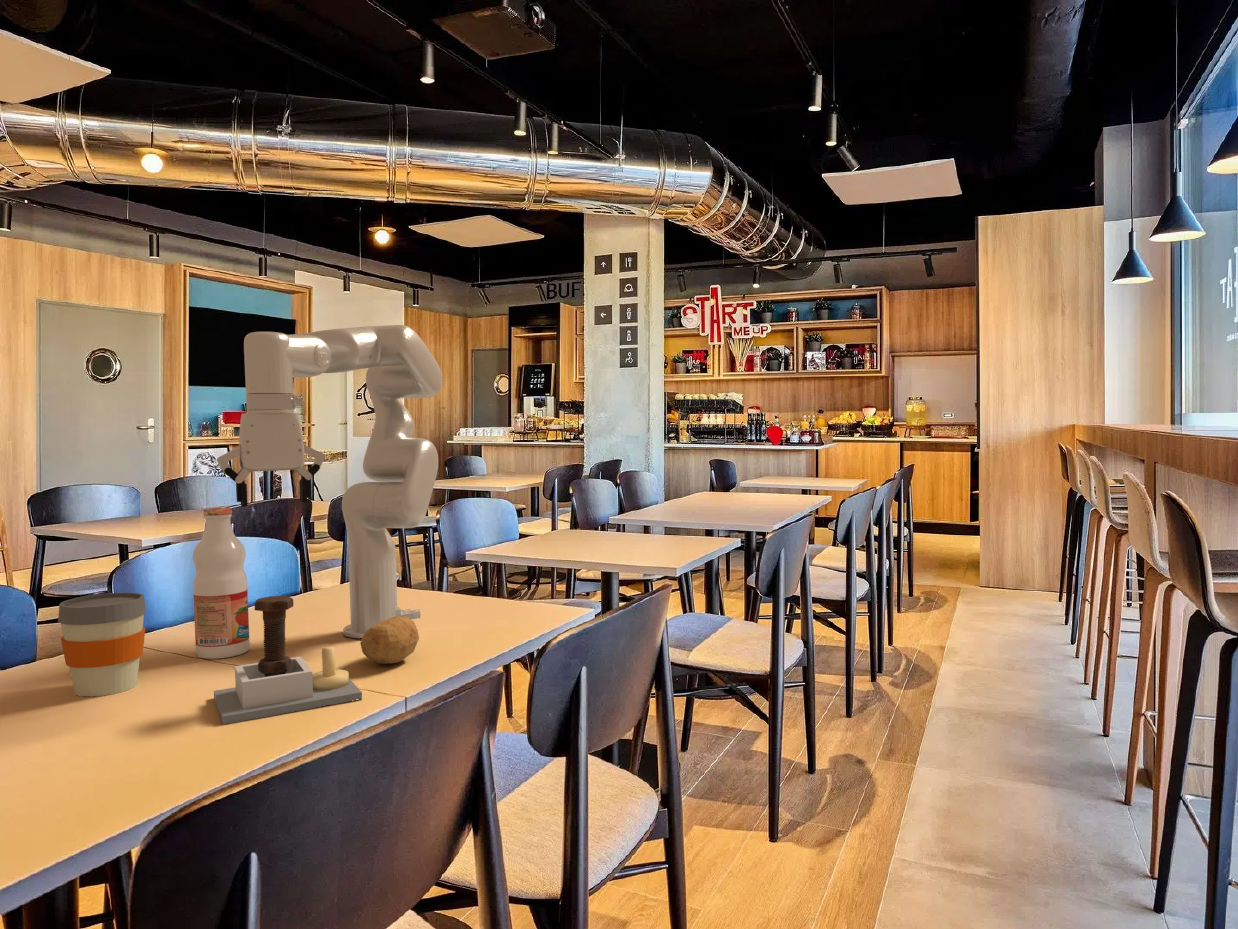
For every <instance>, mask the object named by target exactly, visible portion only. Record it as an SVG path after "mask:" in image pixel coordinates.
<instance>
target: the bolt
mask: <svg viewBox="0 0 1238 929" xmlns="http://www.w3.org/2000/svg"><path fill="white" fill-rule="evenodd" d="M293 607H294V598H293V597H291V596H287V595H277V596H276V595H274V596H273V595H272V596H266V597H261V598H258V599H256V600H255V601H254V611H256V612H257V611H258V612H262V621H263V652H264V653H263V657H262V658H261V659H260V660H259V661H258V662H257V663H258V671H259V672H261V673H263V674H264V675H265V676H264V677H269V676H275V675H282V674H286V671H288V670H289V669H290V668H291V658H292V657H290V656H288V655H287V654H286V618H287V611H288V610H290V609H291V608H293Z"/></svg>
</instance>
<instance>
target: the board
mask: <svg viewBox="0 0 1238 929" xmlns="http://www.w3.org/2000/svg"><path fill="white" fill-rule="evenodd" d="M290 658H291V668H290V669H289V670H288V671H286V674H282V675H275V676H269V677H264V676H265V675H264V674H263V673H261V672H259V671H258V663H259V662H255V663H254V662H253V663H247V664H242V665H235V666H234V678H235V679H234V680H235V682H234V683H235V686H234V687H230V688H224V689H223V688H222V689H216V690H213V698H214V702H215V705H216V708H217V710H218V711H217V712H218V713H219V717H220V720H221V723H222V725H228V724H232V723H233V724H234V723H239V722H246V721H250V720H255V719H256V720H257V719H262V718H267V717H273V716H279V715H285V714H289V713H290V714H291V713H296V712H301V711H306V710H307V711H308V710H311V709H312V708H313V709H317V708H316V707H319V708H322V707H321V706H324V707H326V706H325V705H330V706H334V704H335V705H339V704H338V703H341V704H344V703H343V702H347V701H352V700H356V699H362V700H363V692H362V691H361V690H360V688H358V686H357V685H356V684H355V683H354V682H353V681H352V680H351V678H350V677H349V676H350V675H349V674H350V673H349V671H348V670H344V669H338V668H337V669H336V647H335V646H324V647H323V648H321V660H322V661H321V662H322V664H321V665H322V666H321V667H322V670H320V671H316V672H313V671H312V669H311V668H310V667H309V665H308V663H306V661H305V660H304V659H303V658H302V656H296V657H290ZM352 702H353V701H352ZM347 703H348V702H347ZM295 711H296V712H295Z"/></svg>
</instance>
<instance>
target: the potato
mask: <svg viewBox="0 0 1238 929" xmlns="http://www.w3.org/2000/svg"><path fill="white" fill-rule="evenodd" d="M419 639H420V637H419V631H418V628H417V625H416V623H415V622H414V620H413V619H410V618H409V617H405V616H395V617H391V618H389V619H386V620H383V621H381V622H378V623H377V624H375V625H374V626H372V627H371V628H369V629H368V630H367V631H366V632H365V633H364V635H363V637H362V639H361V640H360V643H359V644H360V648H361V652H362V654H363V655H364V656H365V658H367V659H368V660H369V661H372V662H375V663H377V664H379V665H380V664H381V665H384V664H385V665H386V664H387V665H388V664H398V663H400V662H402V661H403V660H406V658H407V657H409V656H410V655H411V654H413V653H414V652H415V650H416V647H417V644H418V642H419V641H420V640H419Z"/></svg>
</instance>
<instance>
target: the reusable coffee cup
mask: <svg viewBox="0 0 1238 929" xmlns="http://www.w3.org/2000/svg"><path fill="white" fill-rule="evenodd" d="M58 607H59V608H58V617H57V618H58V619H57V622H58V624H60V627H61V631H62V636H61V638H60V643H61V647H62V652H63V656H64V660H65V661H64V662H65V666H67V667H68V668H69V672H70V676H71V681H72V687H73V690H74V694H75V693H76V694H77V695H80V696H79V697H82V696H91V697H90V698H93V697H92V696H97V697H105V696H110V695H109V694H111V695H116V694H119V693H123V692H126V690H127V691H129V690H132V689H133V687H134V688H135V687H136V686H137V685H138V677H139V669H140V668H139V667H140V658H141V657H142V656H143V654H144V645H145V636H146V635H145V634H146V627H145V626H144V616H145V614H146V613H147V608H146V601H145V596H144V594H143V593H139V592H110V593H109V592H108V593H98V594H91V595H84V596H80V597H79V596H78V597H74V598H71V599H67V600H64V601H62V602H60V603H59V606H58ZM131 688H132V689H131ZM115 693H116V694H115ZM76 694H75V695H76ZM77 695H76V696H77ZM104 695H105V696H104Z"/></svg>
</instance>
